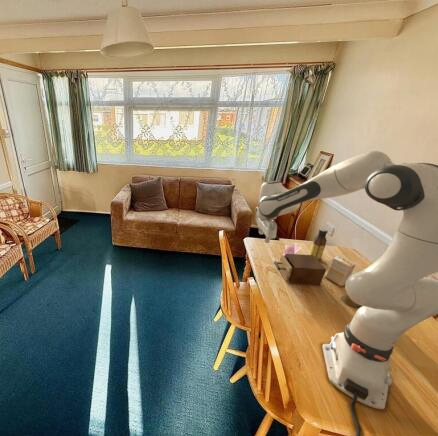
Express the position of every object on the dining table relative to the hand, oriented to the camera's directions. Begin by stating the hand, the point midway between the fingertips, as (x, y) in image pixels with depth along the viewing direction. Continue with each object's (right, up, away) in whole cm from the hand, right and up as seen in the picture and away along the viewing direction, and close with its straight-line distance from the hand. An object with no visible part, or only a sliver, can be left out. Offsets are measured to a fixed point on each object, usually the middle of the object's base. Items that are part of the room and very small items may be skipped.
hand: (263, 238), depth 118 cm
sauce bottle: (+43, -15, +24) cm, 52 cm away
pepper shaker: (+37, -30, -9) cm, 49 cm away
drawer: (+19, -21, +8) cm, 29 cm away
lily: (+28, -15, +24) cm, 40 cm away
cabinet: (+24, -22, +8) cm, 33 cm away
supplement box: (+41, -24, +5) cm, 48 cm away
